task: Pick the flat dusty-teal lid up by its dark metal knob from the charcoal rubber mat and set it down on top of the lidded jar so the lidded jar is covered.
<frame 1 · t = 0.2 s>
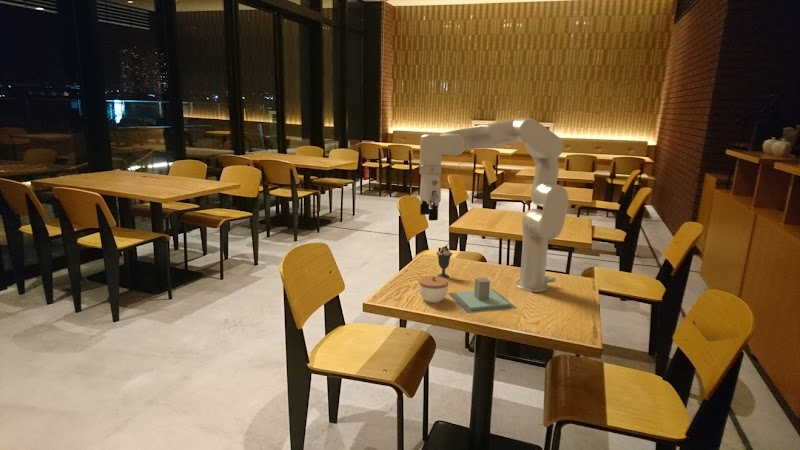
hand: (428, 217, 171), 31 cm above the table, tool pointing down, fingers open, 9 cm apart
mat: (481, 301, 175), on the table
lidded jar: (433, 301, 175), on the table
lid: (481, 300, 175), resting on mat
sundae: (443, 276, 201), on the table
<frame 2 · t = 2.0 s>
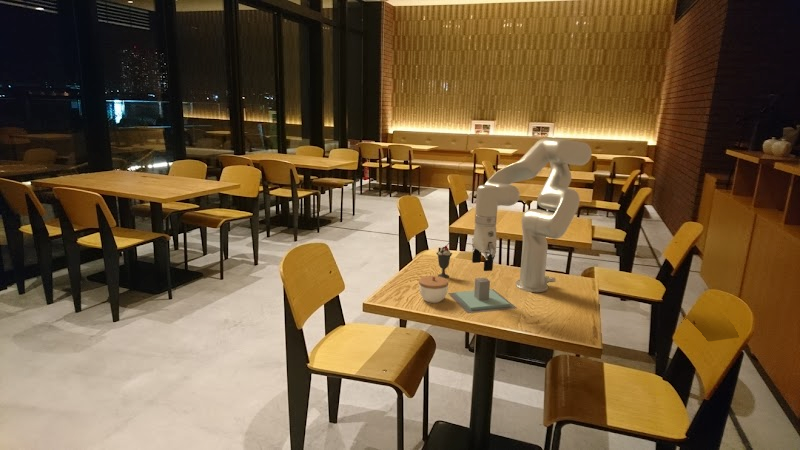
hand: (481, 266, 171), 14 cm above the table, tool pointing down, fingers open, 9 cm apart
nothing on the table moved.
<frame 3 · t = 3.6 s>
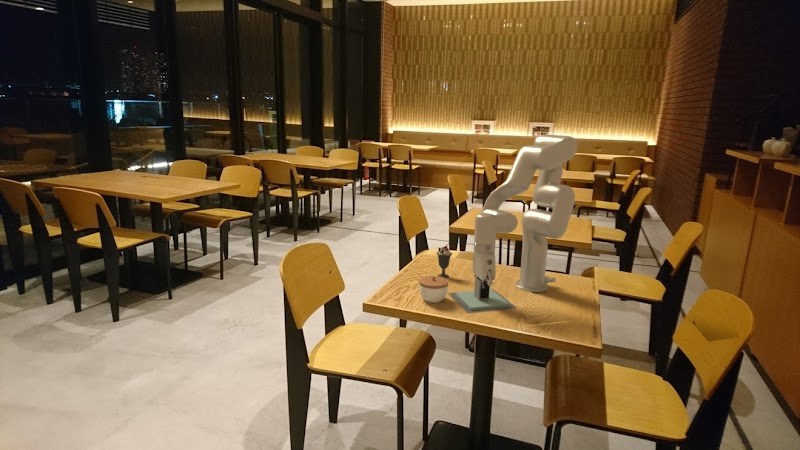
hand: (481, 295, 174), 3 cm above the table, tool pointing down, fingers closed on lid, 4 cm apart
lid: (481, 300, 175), resting on mat, touching gripper
everything else where it was.
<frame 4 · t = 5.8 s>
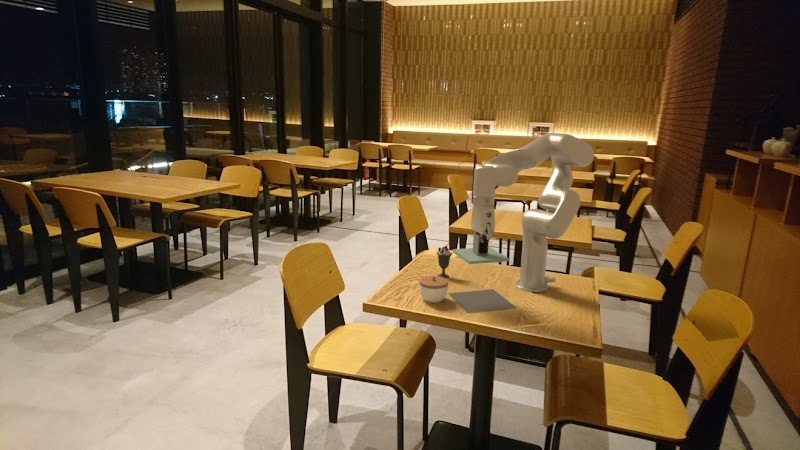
hand: (480, 250, 170), 19 cm above the table, tool pointing down, fingers closed on lid, 4 cm apart
lid: (479, 256, 171), point 17 cm above the table, touching gripper
everything else where it was.
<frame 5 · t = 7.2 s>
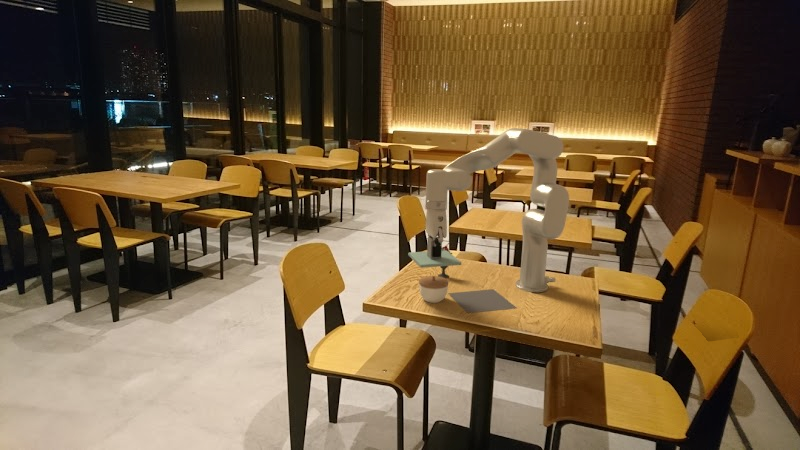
hand: (434, 254, 171), 18 cm above the table, tool pointing down, fingers closed on lid, 4 cm apart
lid: (434, 259, 171), point 16 cm above the table, touching gripper
everything else where it was.
when the fingers open (13 cm above the table, at t = 8.2 s): lid drops 2 cm, resting on lidded jar.
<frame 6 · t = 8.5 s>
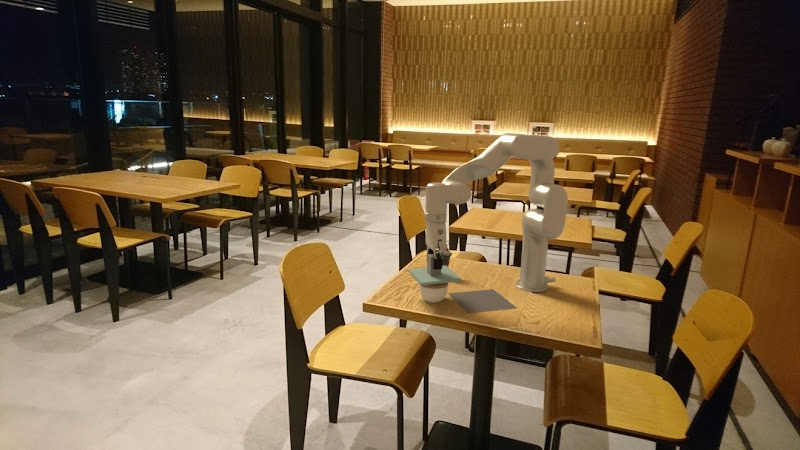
hand: (434, 265, 172), 13 cm above the table, tool pointing down, fingers open, 6 cm apart
lidded jar: (433, 301, 175), on the table, touching lid
lid: (434, 276, 173), point 9 cm above the table, touching lidded jar
everything else where it was.
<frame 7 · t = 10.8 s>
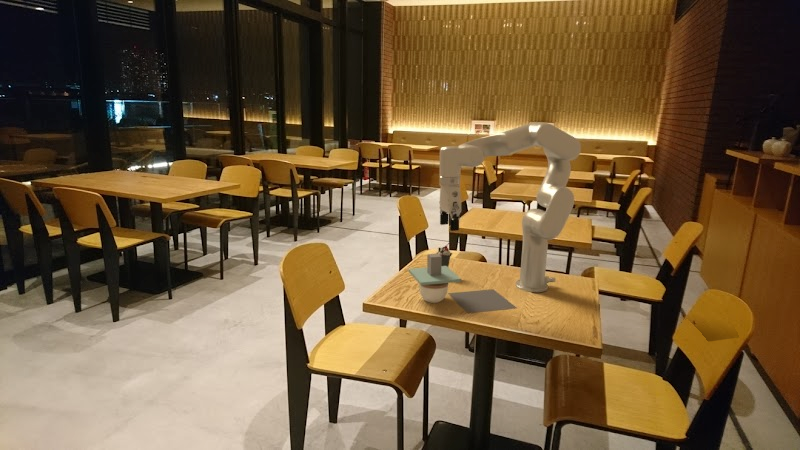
hand: (449, 227, 175), 26 cm above the table, tool pointing down, fingers open, 9 cm apart
nothing on the table moved.
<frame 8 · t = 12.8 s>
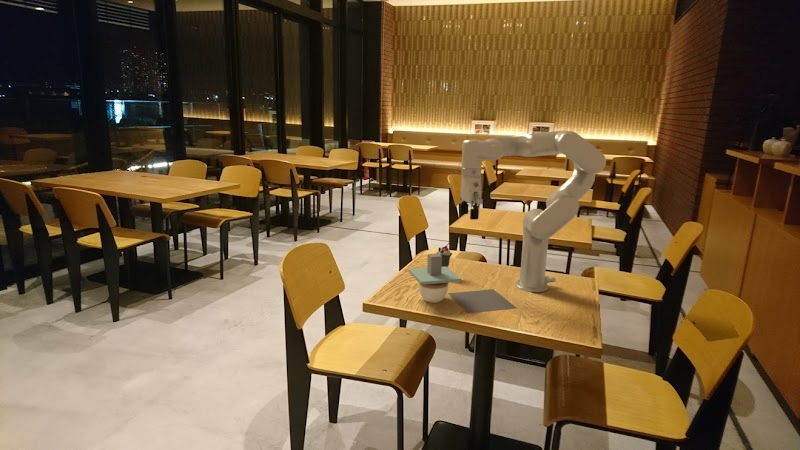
hand: (469, 216, 184), 28 cm above the table, tool pointing down, fingers open, 9 cm apart
nothing on the table moved.
at the end: lid inside the target area on the lidded jar (0.1 cm from its centre), point 9.6 cm above the lidded jar's base; lid tilted 1°; lidded jar moved 0.2 cm from its start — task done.
